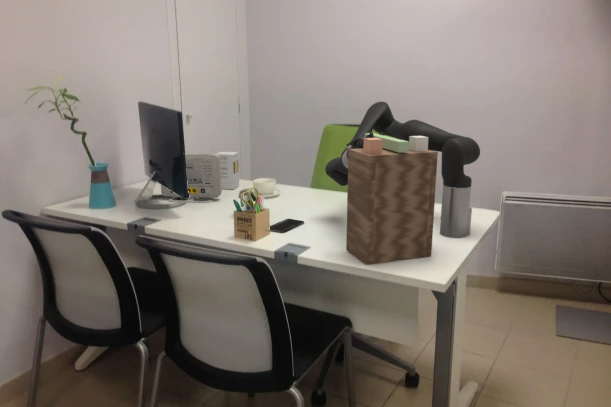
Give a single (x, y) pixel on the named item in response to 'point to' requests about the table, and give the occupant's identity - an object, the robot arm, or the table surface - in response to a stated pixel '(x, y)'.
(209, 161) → the network device
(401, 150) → the sage green bar
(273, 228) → the phone
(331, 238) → the table surface
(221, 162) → the supplement box
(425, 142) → the grey block
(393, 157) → the walnut stand
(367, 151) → the terracotta block
